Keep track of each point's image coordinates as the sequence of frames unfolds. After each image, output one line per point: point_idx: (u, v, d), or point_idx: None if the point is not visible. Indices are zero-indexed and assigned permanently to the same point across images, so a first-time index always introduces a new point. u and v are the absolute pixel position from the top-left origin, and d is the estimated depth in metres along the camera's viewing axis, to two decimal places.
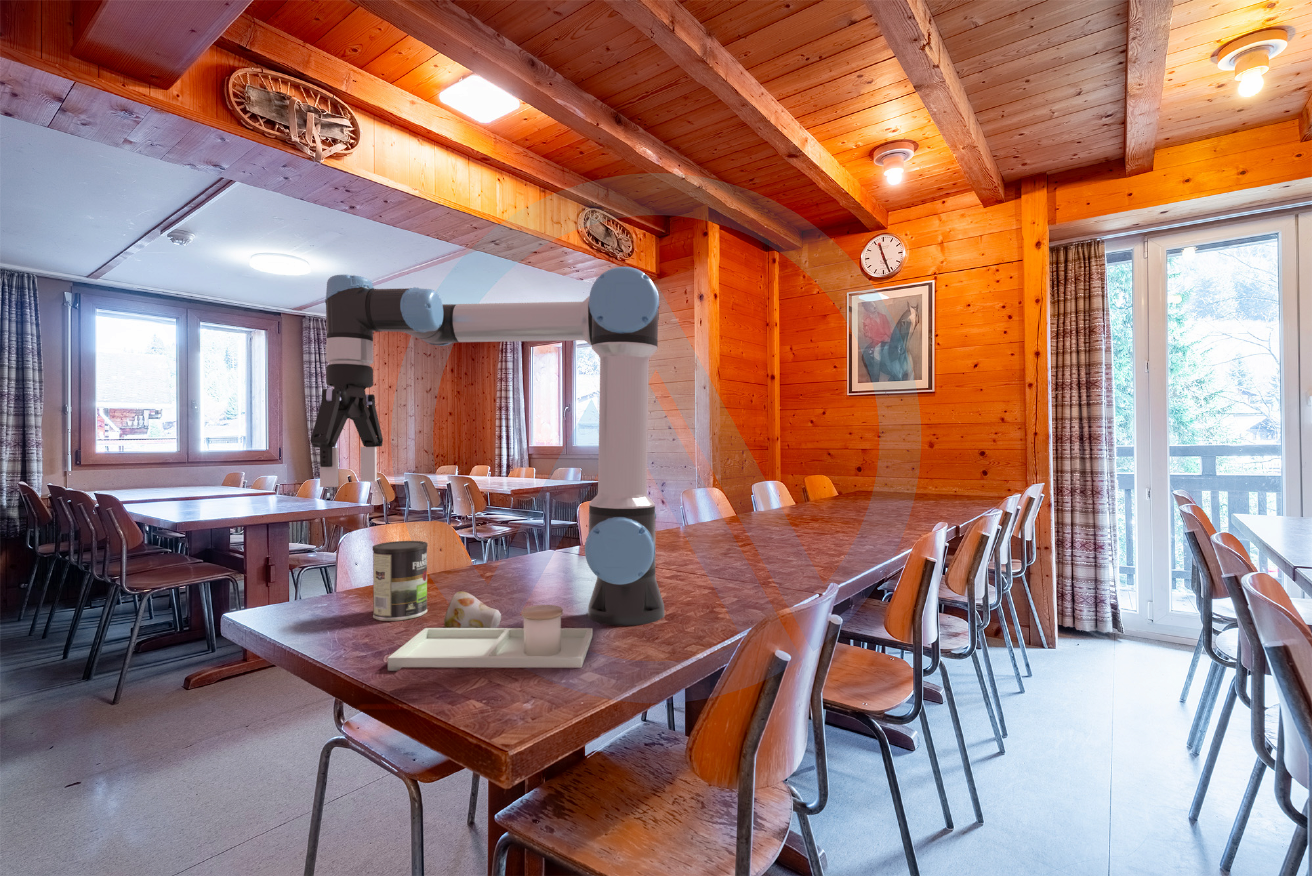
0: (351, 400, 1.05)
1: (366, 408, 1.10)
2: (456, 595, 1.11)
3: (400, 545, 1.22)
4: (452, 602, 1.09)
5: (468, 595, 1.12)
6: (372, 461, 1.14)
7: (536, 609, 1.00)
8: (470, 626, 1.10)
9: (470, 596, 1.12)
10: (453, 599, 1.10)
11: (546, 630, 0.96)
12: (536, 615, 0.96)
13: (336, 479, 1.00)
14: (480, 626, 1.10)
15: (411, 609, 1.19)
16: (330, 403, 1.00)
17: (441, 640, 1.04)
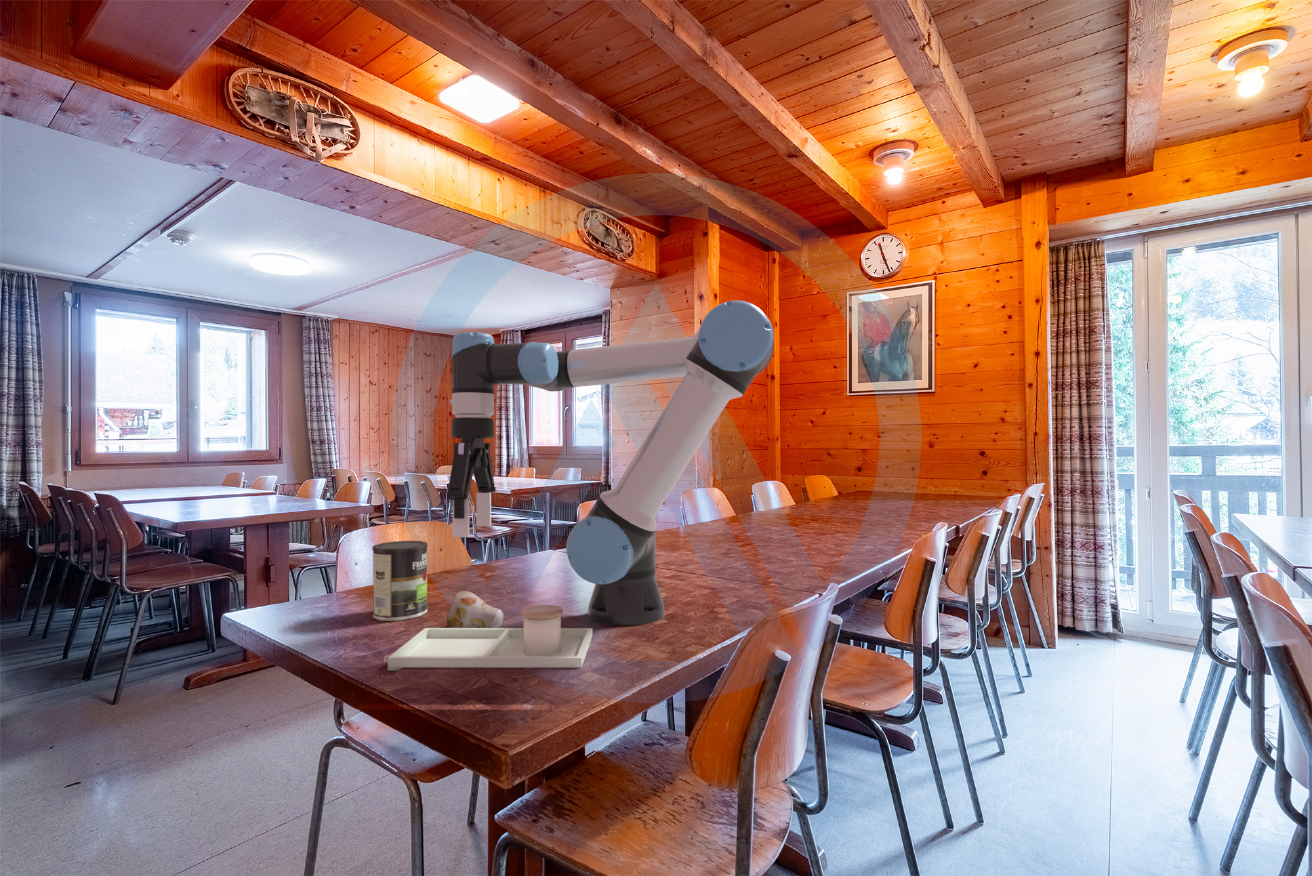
0: (476, 452, 1.10)
1: (486, 457, 1.15)
2: (459, 594, 1.11)
3: (400, 545, 1.22)
4: (454, 601, 1.10)
5: (471, 594, 1.12)
6: (487, 506, 1.19)
7: (536, 609, 1.00)
8: (472, 625, 1.10)
9: (472, 595, 1.12)
10: (456, 598, 1.10)
11: (546, 630, 0.96)
12: (536, 615, 0.96)
13: (468, 530, 1.05)
14: (482, 625, 1.11)
15: (411, 609, 1.19)
16: (462, 457, 1.05)
17: (441, 640, 1.04)
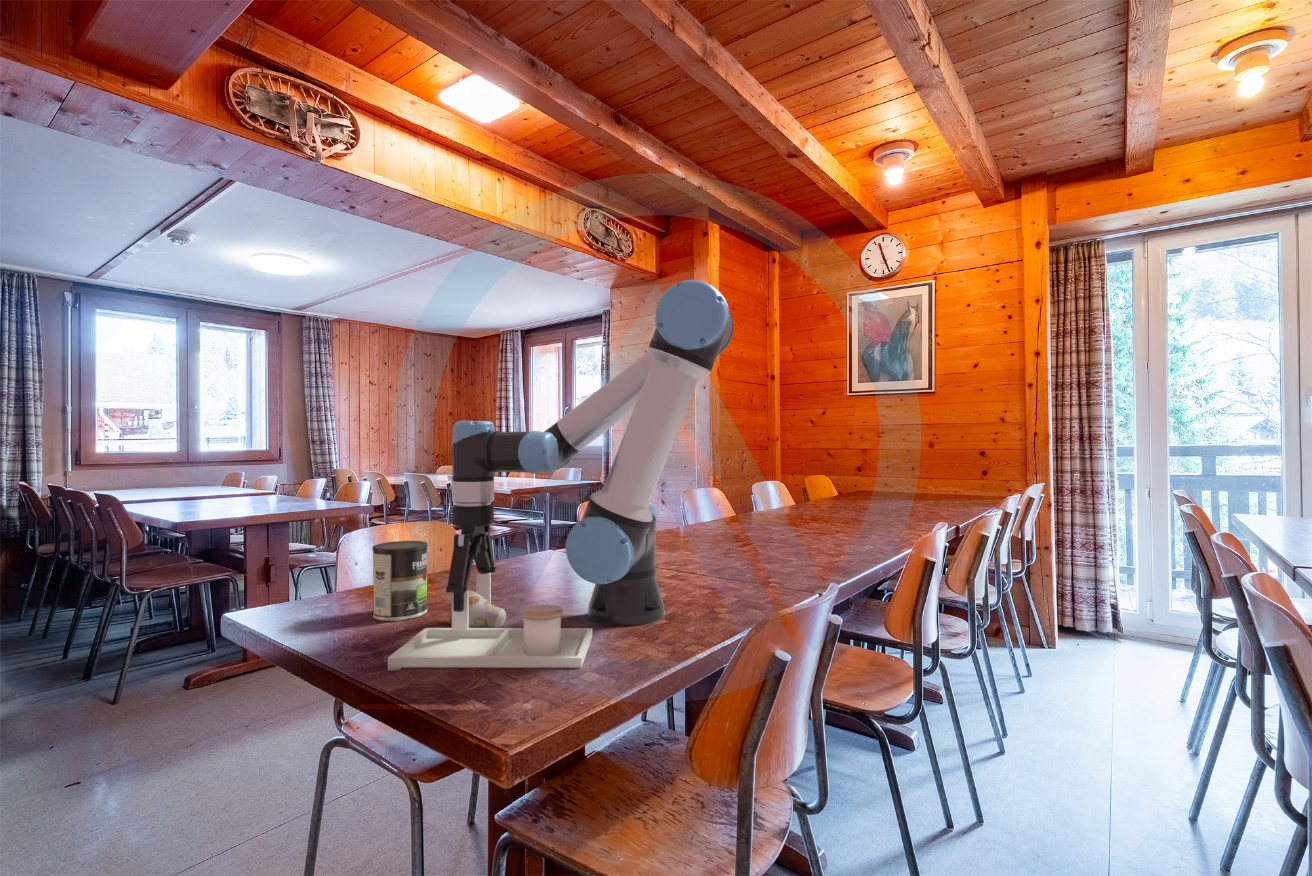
0: (476, 540, 1.10)
1: (485, 542, 1.15)
2: None
3: (400, 545, 1.22)
4: None
5: (474, 594, 1.13)
6: (487, 588, 1.19)
7: (536, 609, 1.00)
8: (475, 624, 1.11)
9: (476, 595, 1.13)
10: None
11: (546, 630, 0.96)
12: (536, 615, 0.96)
13: (467, 622, 1.05)
14: (485, 624, 1.11)
15: (411, 609, 1.19)
16: (462, 549, 1.05)
17: (441, 640, 1.04)
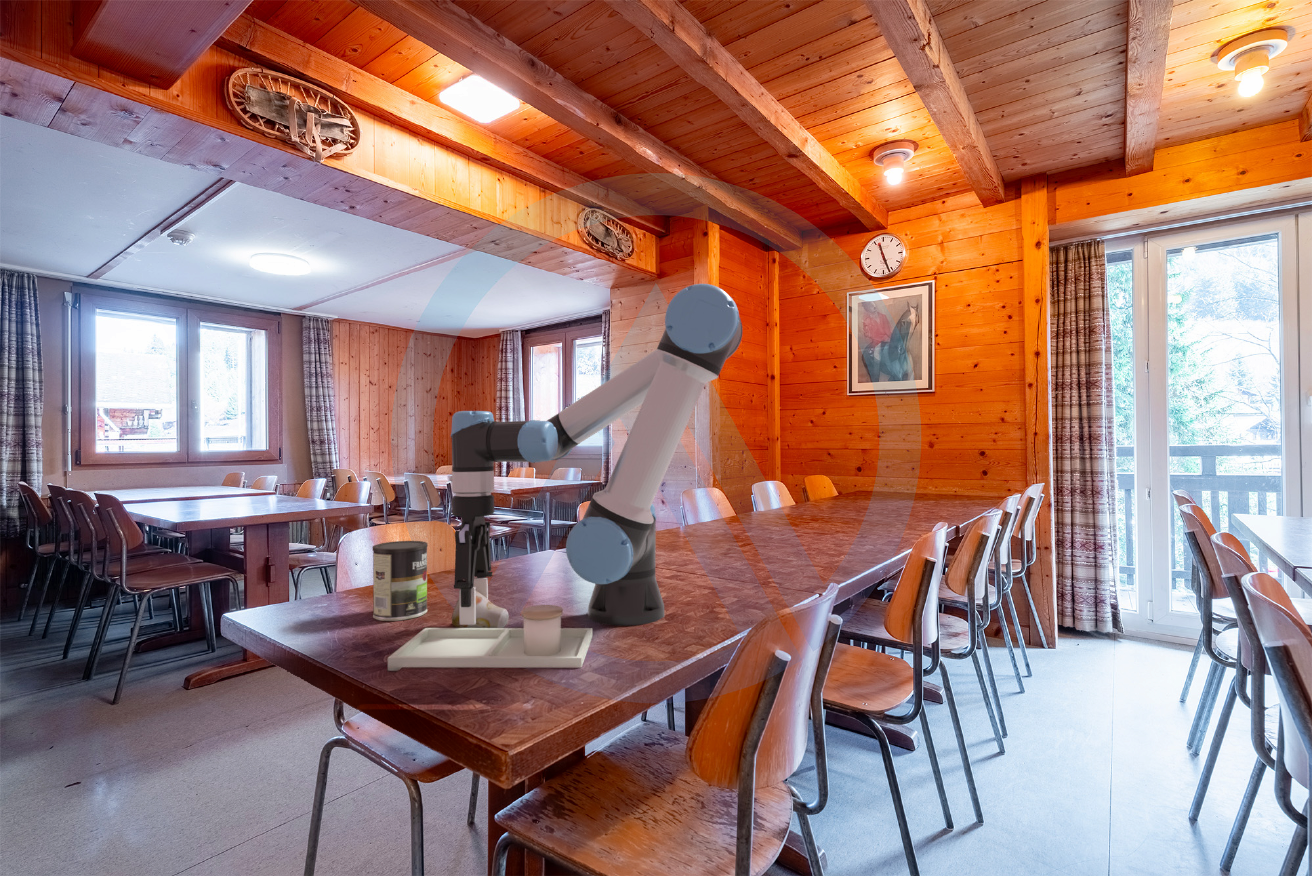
0: (477, 532, 1.10)
1: (485, 535, 1.14)
2: None
3: (400, 545, 1.22)
4: None
5: (476, 593, 1.12)
6: (484, 592, 1.16)
7: (536, 609, 1.00)
8: (477, 625, 1.10)
9: (478, 595, 1.12)
10: None
11: (546, 630, 0.96)
12: (536, 615, 0.96)
13: (474, 617, 1.08)
14: (487, 625, 1.10)
15: (411, 609, 1.19)
16: (464, 546, 1.06)
17: (441, 640, 1.04)
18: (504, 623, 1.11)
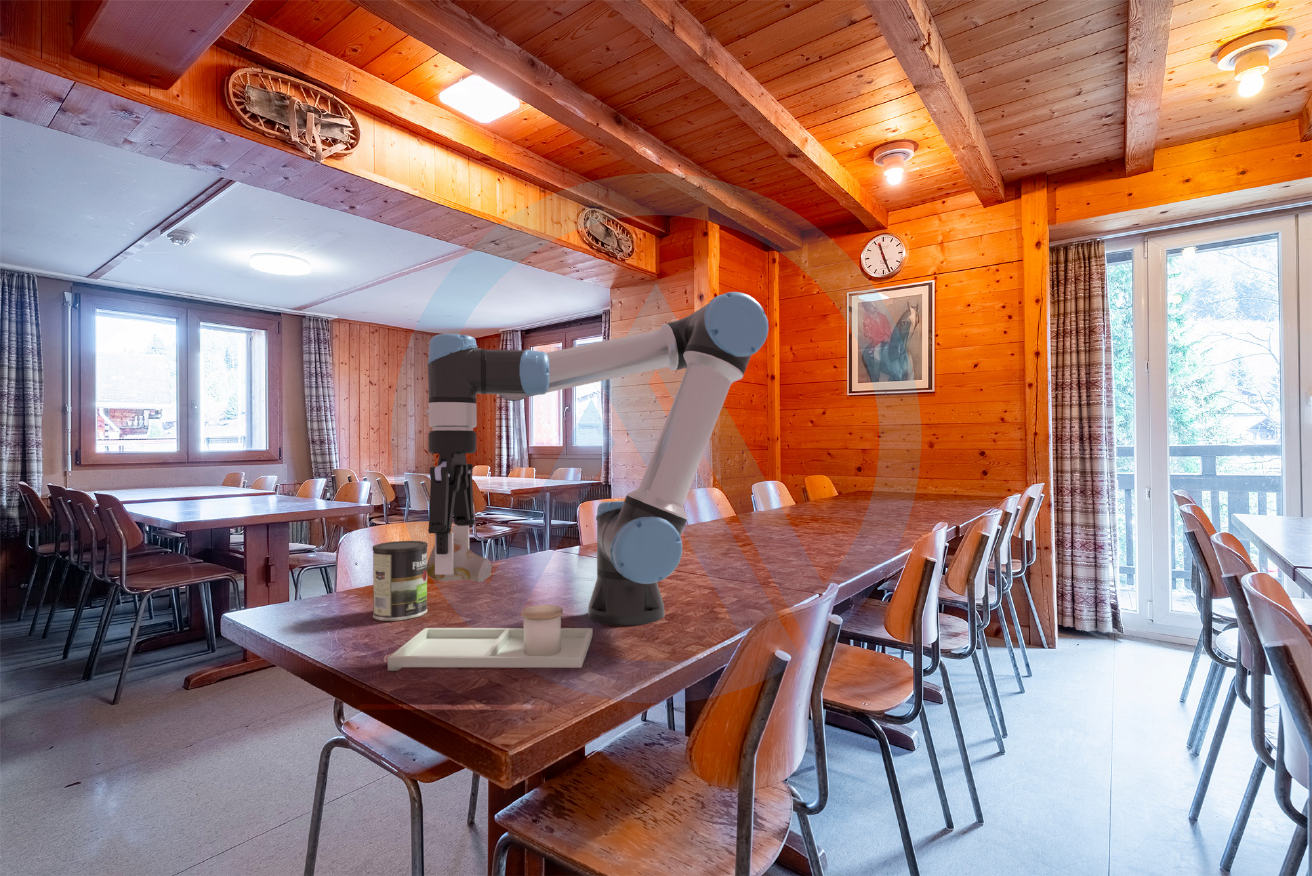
0: (456, 471, 0.97)
1: (467, 477, 1.01)
2: None
3: (400, 545, 1.22)
4: None
5: (455, 541, 0.99)
6: (465, 542, 1.03)
7: (536, 609, 1.00)
8: (455, 575, 0.97)
9: (457, 542, 0.99)
10: None
11: (546, 630, 0.96)
12: (536, 615, 0.96)
13: (452, 566, 0.95)
14: (467, 576, 0.97)
15: (411, 609, 1.19)
16: (441, 484, 0.93)
17: (441, 640, 1.04)
18: (486, 574, 0.98)
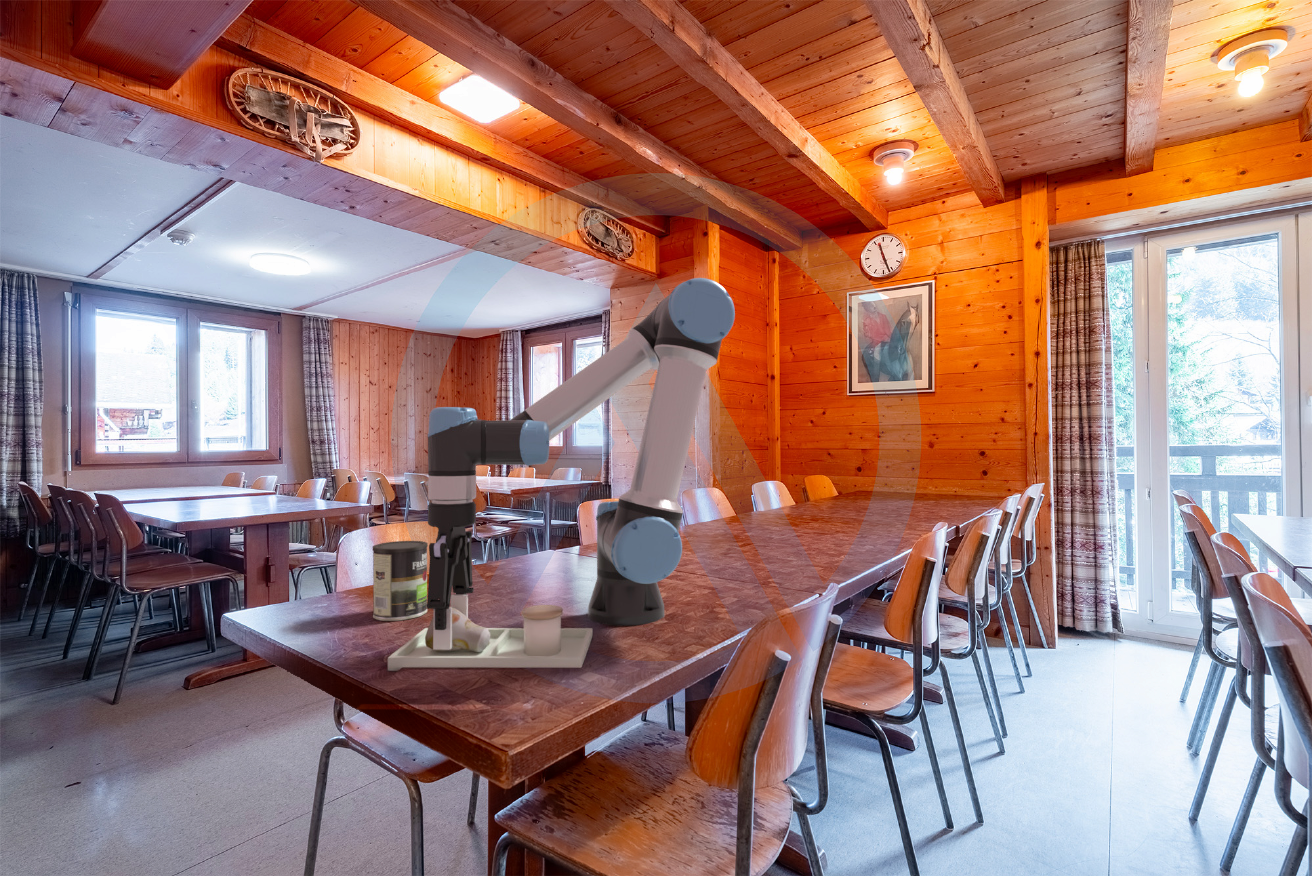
0: (455, 544, 0.97)
1: (466, 547, 1.01)
2: None
3: (400, 545, 1.22)
4: None
5: (453, 611, 0.99)
6: (463, 611, 1.03)
7: (536, 609, 1.00)
8: (454, 646, 0.97)
9: (455, 612, 0.99)
10: None
11: (546, 630, 0.96)
12: (536, 615, 0.96)
13: (450, 641, 0.95)
14: (465, 647, 0.97)
15: (411, 609, 1.19)
16: (440, 561, 0.93)
17: None
18: (485, 644, 0.98)
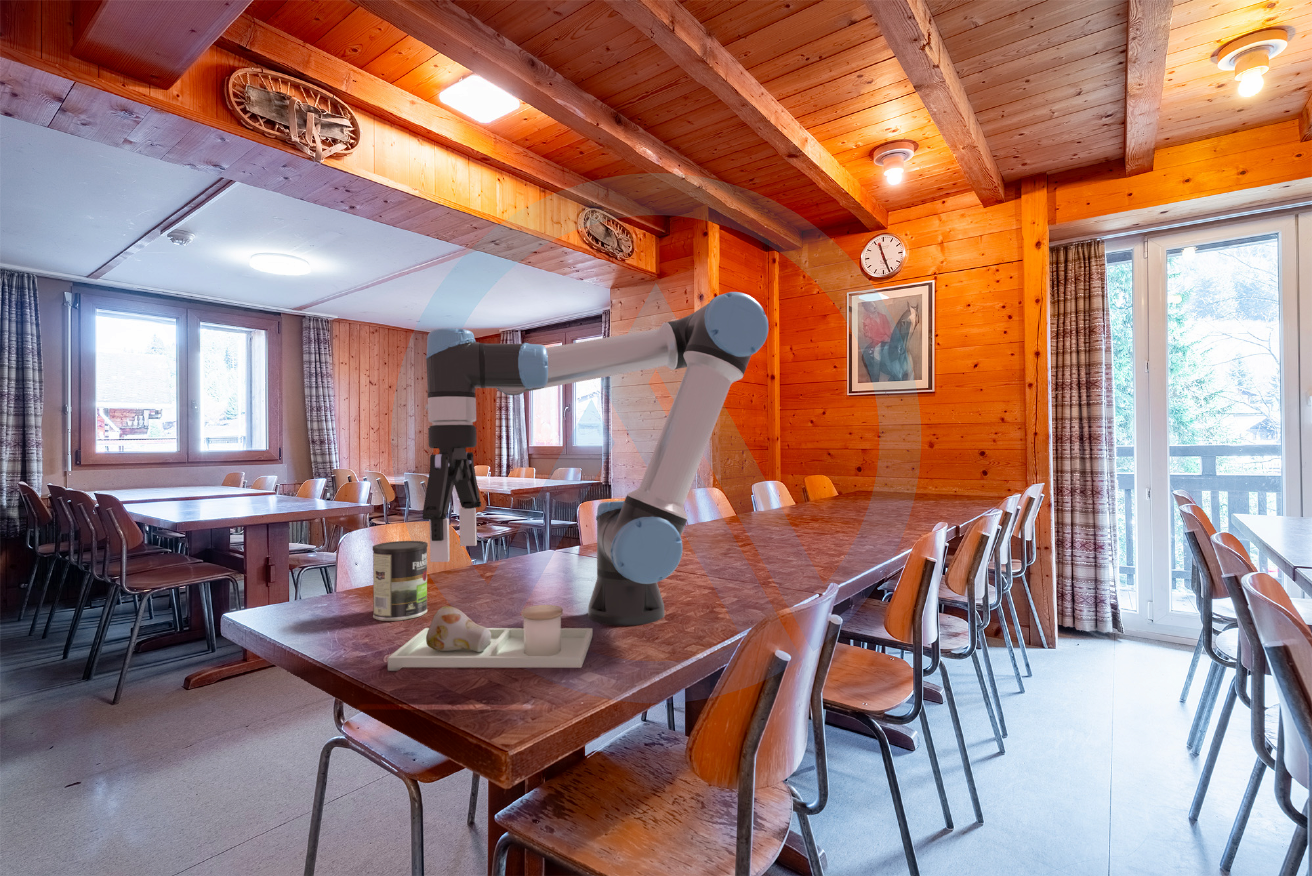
0: (457, 464, 0.97)
1: (468, 469, 1.02)
2: (440, 610, 0.98)
3: (400, 545, 1.22)
4: (435, 619, 0.97)
5: (454, 611, 0.99)
6: (472, 524, 1.06)
7: (536, 609, 1.00)
8: (455, 646, 0.97)
9: (456, 612, 0.99)
10: (436, 615, 0.97)
11: (546, 630, 0.96)
12: (536, 615, 0.96)
13: (448, 553, 0.92)
14: (466, 646, 0.97)
15: (411, 609, 1.19)
16: (440, 471, 0.92)
17: None
18: (485, 644, 0.98)
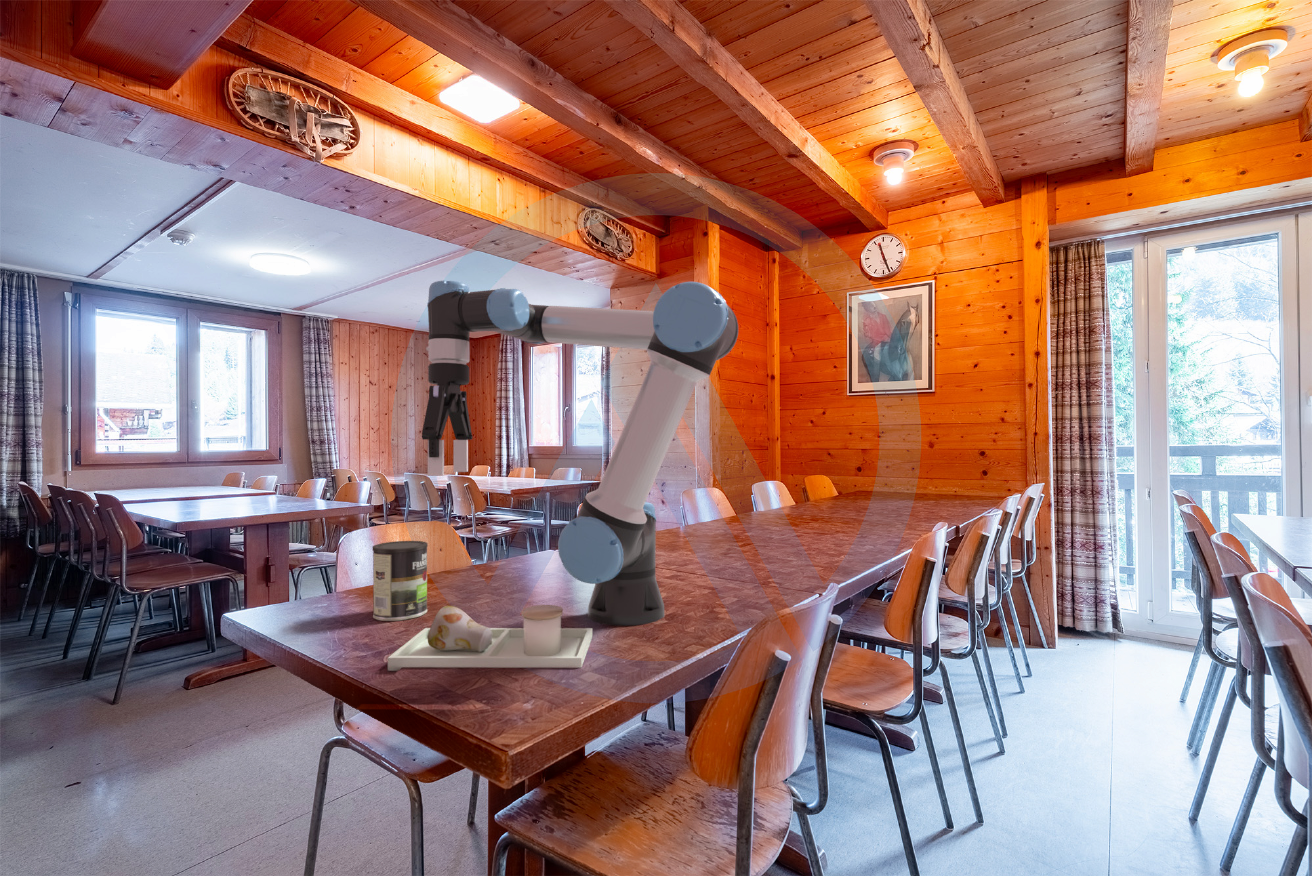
0: (452, 396, 1.14)
1: (462, 404, 1.19)
2: (442, 610, 0.98)
3: (400, 545, 1.22)
4: (436, 618, 0.97)
5: (456, 610, 0.99)
6: (464, 453, 1.23)
7: (536, 609, 1.00)
8: (456, 646, 0.97)
9: (458, 611, 0.99)
10: (438, 615, 0.97)
11: (546, 630, 0.96)
12: (536, 615, 0.96)
13: (442, 469, 1.09)
14: (467, 646, 0.97)
15: (411, 609, 1.19)
16: (437, 399, 1.09)
17: None
18: (487, 644, 0.98)
